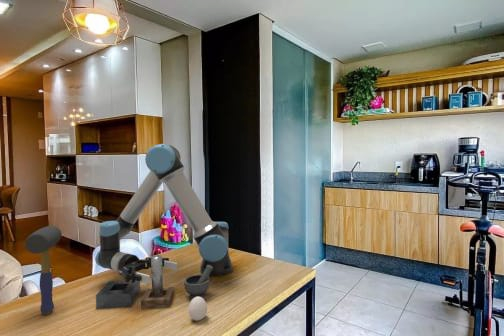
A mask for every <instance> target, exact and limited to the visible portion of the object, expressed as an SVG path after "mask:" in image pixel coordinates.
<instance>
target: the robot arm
mask: <svg viewBox="0 0 504 336" xmlns="http://www.w3.org/2000/svg"><path fill="white" fill-rule="evenodd" d="M145 164H146V166H147V168H148V170H150V171H149V172H148V174H147V175H146V177H145V178H144V179H143V181H142V182H141V184H140V186H139V187H138V189H136V191H135V193H134V194H133V195H132V196H131V199H129V202H128V203H127V205H125V207H124V209H123V210H122V211H121V213H120V215H119V216H118V218H117V219H116V220H107V221H103V222H101V223H100V224H99V231H98V233H99V248H100V249H99V250H98V251H97V252H96V255H95V257H94V261H95V263H96V265H97V266H98V267H101V268H103V269H107V270H112V271H115V272H119V276H121V277H122V278H123V280H125V281H126V282H129V281H130V280H131V282H132V283H134V282H135V280H136V281H140V283H143V284H146V285H147V284H148V285H150V284H151V275H149V274H147V273H146V274H145V273H141V272H140V271H142V270H148V269H151V257H145V259H140V258H139V256H138V255H135V254H132V253H128V252H123V251H121V239H123V238H124V237H126V236H127V235H129V233H130V232H131V231H132V230H133V227H134V225H135V223H136V222H137V221H138V219H139V217H141V215H142V213H143V212H144V210H145V209H146V208H147V206H148V204H149V203H150V202H151V200H152V199H153V198H154V196H155V195H156V193H157V191H158V190H159V189H160V187H161V186H162V185H163V183H164V184H165V185H166V187H167V189H168V191H169V193H170V194H171V196H172V197H173V199H174V201H175V202H176V204H177V206H178V207H179V209H180V211H181V212H182V214H183V216H184V217H185V220H187V223H188V224H189V225H190V227H191V228H192V230H193V236H192V238H193V239H194V241H195V244H196V245H197V246H198V252H199V256H200V257H202V260H201V263H200V267H199V268H200V269H199V271H200V274H201V275H202V274H203V273H204V271H205V269H206V266H207V265H210V266H212V267H213V269H212V270H211V272H210V274H209V277H223V276H226V275H228V274H231V272H232V271H233V262H232V260H231V257H230V254H229V229H230V228H229V224H228V223H227V222H226V221H213V220H212V219H211V217H210V216H209V214H208V212H207V210H206V209H205V207H204V205H203V204H202V202H201V200H200V199H199V197H198V195H197V193H196V192H195V190H194V189H193V187H192V185H191V184H190V182H189V180H188V178H187V177H186V175H185V173H184V170H185V166H184V165H183V162H182V161H181V154H180V152H179V150H178V149H177V148H176V147H174V146H172V145H170V144H165V143H159V144H155V145H152V146H151V147H150V148H149V149H148V150H147V152H146V154H145ZM178 265H179V264H178V262H173V261H170V258H169V257H162V267H163V268H164V269H167V270H172V271H176V272H177V271H178Z"/></svg>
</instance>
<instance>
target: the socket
mask: <svg viewBox="0 0 504 336" xmlns="http://www.w3.org/2000/svg"><path fill="white" fill-rule="evenodd" d="M140 293H141V282H140V281H136V280H135V282H134V283H132V282H131V280H130V281H129V282H126V281H125V280H124V279H123V280H109V281H108V282H107V283H106V284H105V285H104V286H103V287H102V288H101V289H100V290H99V291H98V292H97V294H96V295H95V309H96V310H98V309H99V310H100V309H103V310H104V309H116V308H119V309H120V308H121V309H122V308H131V307H132V306H133V304H134V303H135V301H136V299H137V298H138V296H139V294H140Z"/></svg>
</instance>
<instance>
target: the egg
mask: <svg viewBox="0 0 504 336" xmlns="http://www.w3.org/2000/svg"><path fill="white" fill-rule="evenodd" d="M189 302H190V303H189V305H188V314H189V317H190V318H191V319H192V320H193V321H201V320H203V319H204V318H205V316H206V315H207V312H208V305H207V302H206V301H205V298H204V299H203V298H202V297H199V296H197V297H195V298H193V299H192V301H191V300H190V301H189Z"/></svg>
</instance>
